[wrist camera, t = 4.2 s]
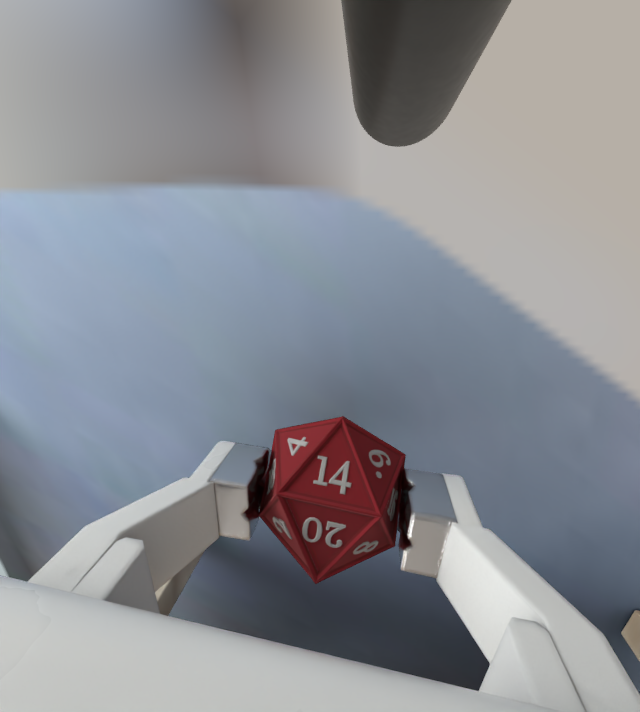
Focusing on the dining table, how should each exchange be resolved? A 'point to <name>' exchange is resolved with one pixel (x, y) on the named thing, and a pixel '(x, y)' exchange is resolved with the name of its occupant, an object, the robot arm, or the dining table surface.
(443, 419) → the dining table surface
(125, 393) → the dining table surface
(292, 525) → the dice
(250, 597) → the dining table surface
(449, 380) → the dining table surface
